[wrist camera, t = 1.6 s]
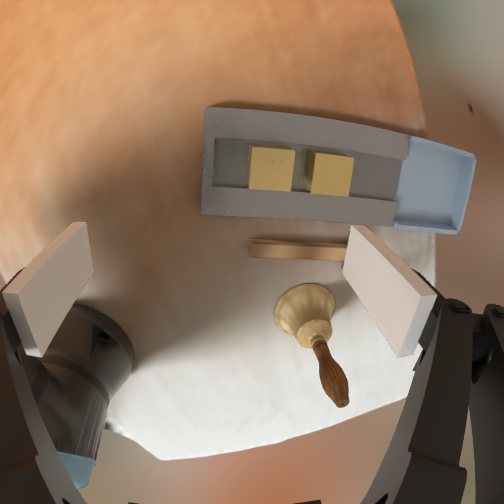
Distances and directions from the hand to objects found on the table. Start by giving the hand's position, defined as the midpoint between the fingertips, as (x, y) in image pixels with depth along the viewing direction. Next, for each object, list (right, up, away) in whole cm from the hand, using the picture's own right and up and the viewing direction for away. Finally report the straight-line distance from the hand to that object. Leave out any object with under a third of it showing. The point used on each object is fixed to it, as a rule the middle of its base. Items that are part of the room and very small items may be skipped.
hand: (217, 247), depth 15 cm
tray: (+24, +8, +20) cm, 32 cm away
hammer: (+7, 0, +22) cm, 23 cm away
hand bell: (+9, -8, +26) cm, 29 cm away
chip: (+9, +8, +17) cm, 21 cm away
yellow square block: (+3, +9, +16) cm, 19 cm away
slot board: (+8, +9, +18) cm, 21 cm away
